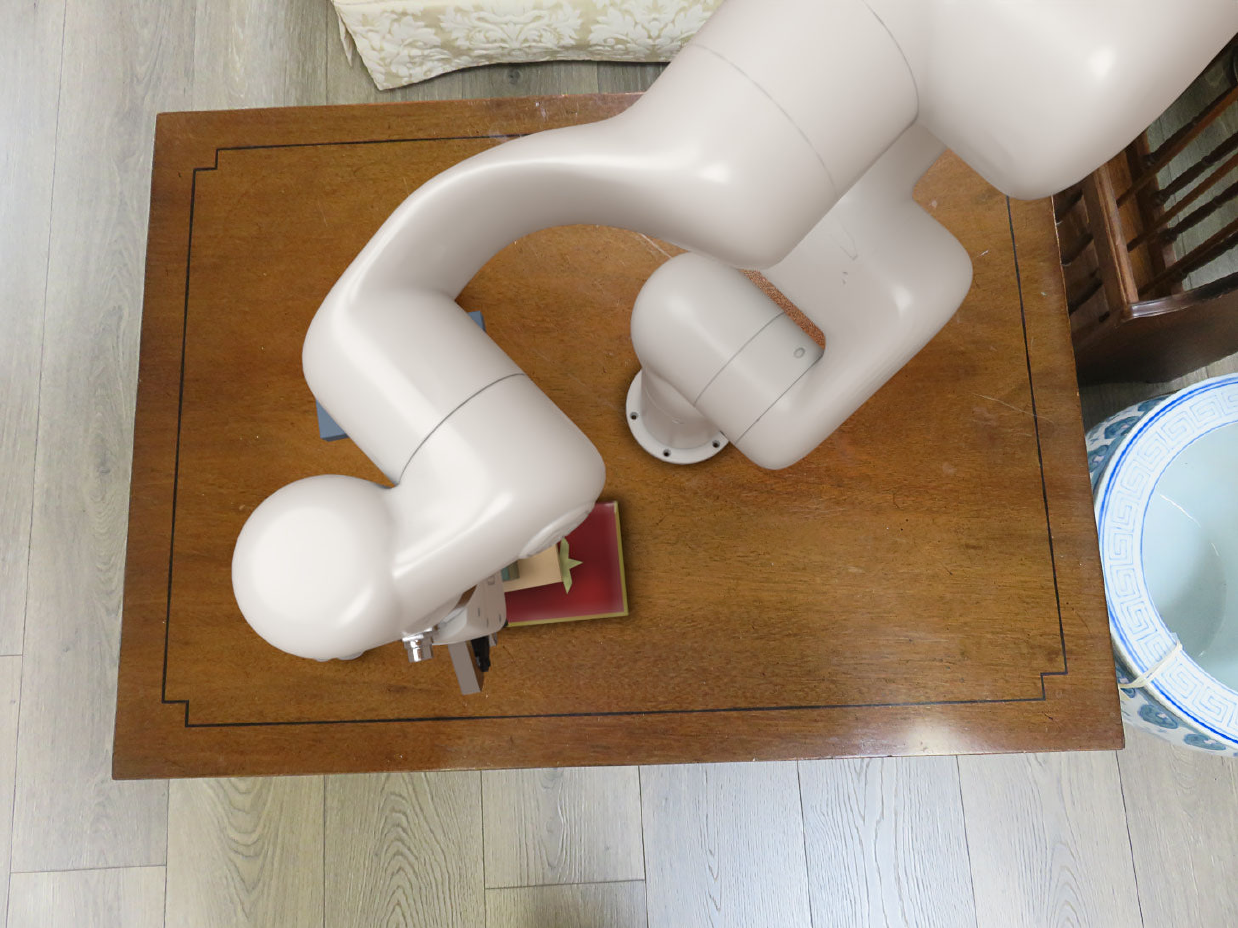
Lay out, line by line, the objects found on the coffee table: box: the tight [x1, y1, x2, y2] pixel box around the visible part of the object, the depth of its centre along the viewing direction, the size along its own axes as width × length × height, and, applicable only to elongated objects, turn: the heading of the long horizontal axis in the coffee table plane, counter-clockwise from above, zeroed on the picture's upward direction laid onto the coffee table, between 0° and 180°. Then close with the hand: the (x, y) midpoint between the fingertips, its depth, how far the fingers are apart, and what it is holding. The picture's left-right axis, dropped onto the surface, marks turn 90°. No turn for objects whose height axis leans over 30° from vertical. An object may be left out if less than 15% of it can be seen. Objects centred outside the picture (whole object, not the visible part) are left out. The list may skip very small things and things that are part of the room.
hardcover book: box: [504, 500, 629, 628], centre depth 77 cm, size 12×21×4 cm, turn 95°
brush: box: [501, 543, 563, 592], centre depth 70 cm, size 11×4×10 cm, turn 101°
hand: (478, 563), depth 57 cm, fingers open, 9 cm apart
